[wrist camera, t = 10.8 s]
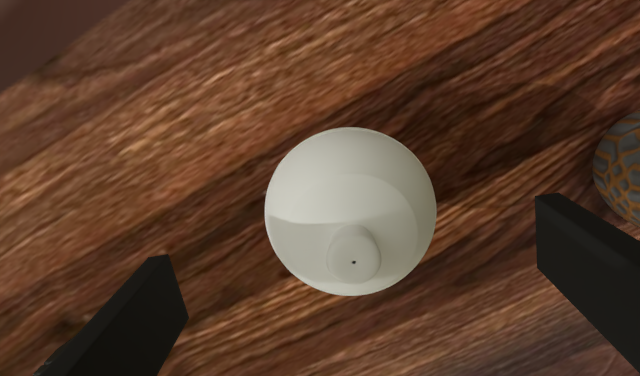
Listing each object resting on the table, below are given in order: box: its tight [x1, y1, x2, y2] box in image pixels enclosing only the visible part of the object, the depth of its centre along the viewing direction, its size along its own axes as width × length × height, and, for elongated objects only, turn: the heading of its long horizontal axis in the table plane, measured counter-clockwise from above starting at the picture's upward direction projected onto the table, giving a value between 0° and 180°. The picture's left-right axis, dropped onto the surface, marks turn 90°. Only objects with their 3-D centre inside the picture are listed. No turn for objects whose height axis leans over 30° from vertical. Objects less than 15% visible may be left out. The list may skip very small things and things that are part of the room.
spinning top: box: [265, 127, 437, 296], centre depth 20 cm, size 8×8×12 cm
